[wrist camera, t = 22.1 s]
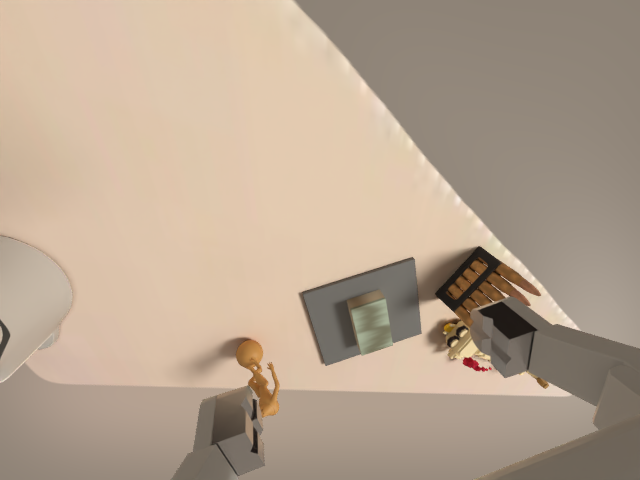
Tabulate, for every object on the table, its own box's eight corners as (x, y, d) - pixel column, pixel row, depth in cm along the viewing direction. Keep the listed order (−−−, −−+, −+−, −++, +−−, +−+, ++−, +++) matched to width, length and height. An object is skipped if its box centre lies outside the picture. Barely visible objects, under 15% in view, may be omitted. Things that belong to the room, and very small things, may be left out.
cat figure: (530, 336, 64) (461, 303, 53) (570, 370, 57) (500, 340, 45) (498, 369, 67) (426, 344, 55) (532, 405, 59) (457, 385, 48)
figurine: (247, 321, 46) (247, 389, 35) (283, 330, 48) (293, 397, 37) (227, 360, 48) (221, 435, 38) (262, 367, 50) (266, 440, 40)
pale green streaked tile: (386, 334, 52) (379, 289, 48) (392, 345, 50) (385, 298, 45) (356, 344, 52) (346, 300, 47) (361, 355, 50) (351, 310, 45)
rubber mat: (324, 363, 53) (325, 366, 52) (302, 292, 46) (302, 294, 45) (419, 331, 54) (421, 333, 54) (412, 257, 47) (414, 259, 47)
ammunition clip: (441, 298, 52) (490, 349, 42) (434, 294, 51) (482, 345, 41) (485, 251, 50) (549, 293, 39) (479, 245, 49) (542, 287, 38)
